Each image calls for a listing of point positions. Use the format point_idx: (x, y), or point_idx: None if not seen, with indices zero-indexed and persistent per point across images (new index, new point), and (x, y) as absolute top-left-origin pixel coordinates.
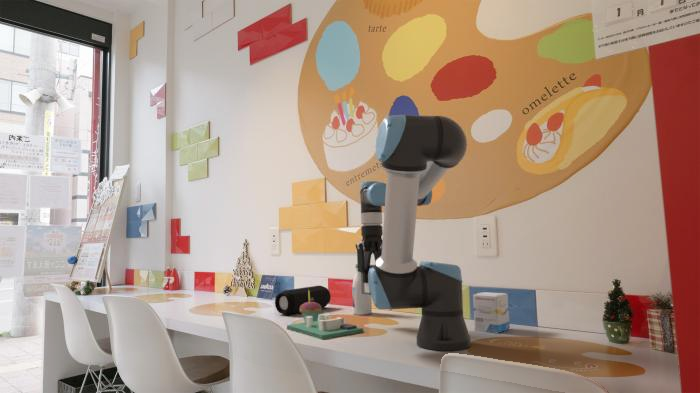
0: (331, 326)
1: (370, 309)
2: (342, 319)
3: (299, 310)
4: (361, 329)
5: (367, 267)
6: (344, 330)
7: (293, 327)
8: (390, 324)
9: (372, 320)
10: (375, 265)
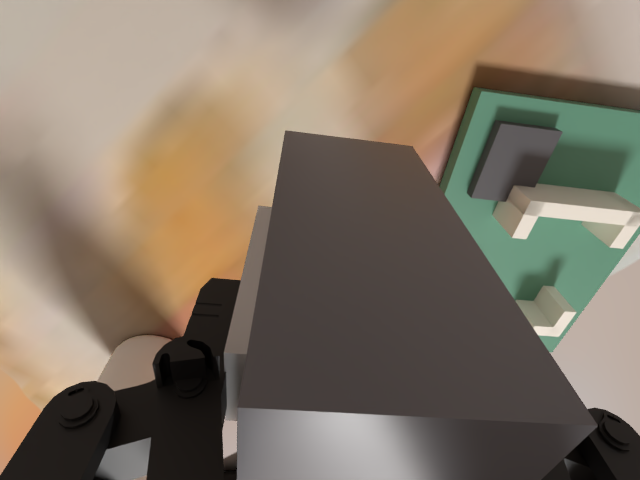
0: (584, 193)
1: (127, 349)
2: (534, 198)
3: None
4: (490, 91)
5: (555, 474)
6: (575, 125)
7: (575, 318)
8: (225, 112)
9: (222, 245)
10: (476, 468)
